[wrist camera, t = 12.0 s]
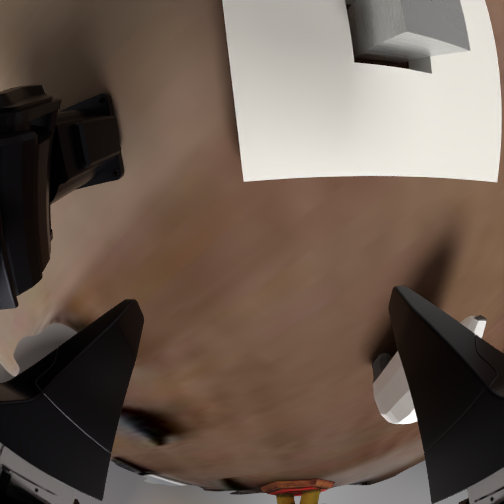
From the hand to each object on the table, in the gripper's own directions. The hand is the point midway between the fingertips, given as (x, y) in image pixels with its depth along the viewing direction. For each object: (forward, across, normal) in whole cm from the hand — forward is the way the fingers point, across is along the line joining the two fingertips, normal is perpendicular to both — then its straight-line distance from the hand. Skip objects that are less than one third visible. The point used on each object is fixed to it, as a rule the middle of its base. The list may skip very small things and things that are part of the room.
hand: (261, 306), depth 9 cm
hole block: (+11, -8, -11) cm, 17 cm away
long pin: (+11, -8, -11) cm, 17 cm away
